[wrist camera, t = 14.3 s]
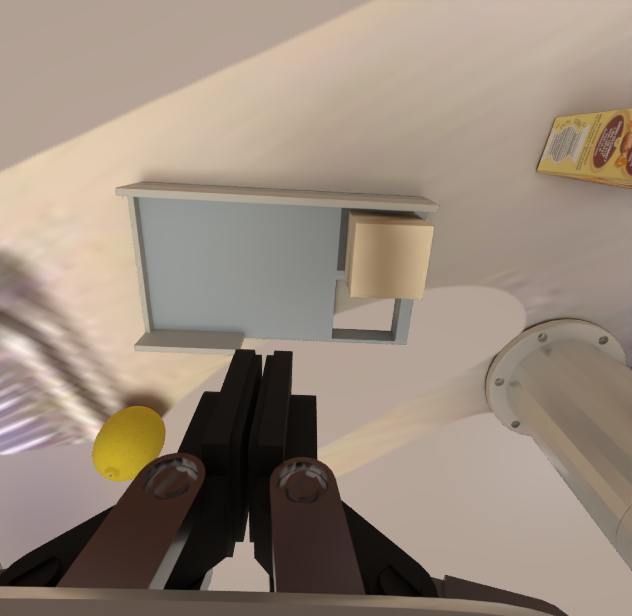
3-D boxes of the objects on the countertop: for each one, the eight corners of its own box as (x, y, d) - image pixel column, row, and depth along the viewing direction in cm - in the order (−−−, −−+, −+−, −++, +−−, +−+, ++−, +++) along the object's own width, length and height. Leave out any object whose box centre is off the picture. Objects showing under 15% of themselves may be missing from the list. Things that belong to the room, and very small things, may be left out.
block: (415, 213, 30) (434, 226, 25) (406, 276, 31) (422, 299, 27) (349, 210, 29) (356, 223, 25) (344, 274, 31) (350, 296, 27)
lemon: (159, 443, 40) (125, 510, 33) (110, 417, 39) (63, 480, 32) (186, 408, 39) (157, 471, 31) (136, 379, 37) (93, 437, 30)
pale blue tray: (422, 196, 31) (441, 206, 26) (401, 334, 36) (414, 362, 31) (141, 181, 30) (111, 188, 26) (158, 323, 35) (134, 351, 31)
